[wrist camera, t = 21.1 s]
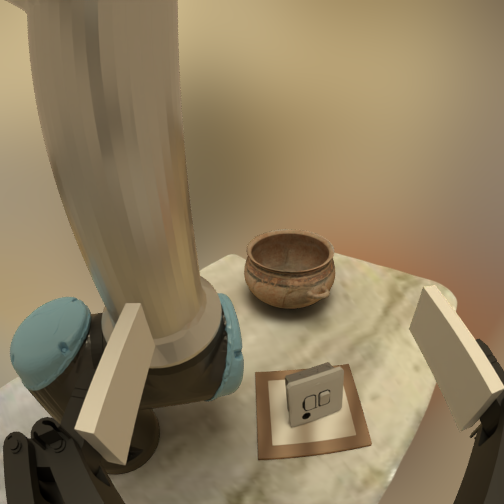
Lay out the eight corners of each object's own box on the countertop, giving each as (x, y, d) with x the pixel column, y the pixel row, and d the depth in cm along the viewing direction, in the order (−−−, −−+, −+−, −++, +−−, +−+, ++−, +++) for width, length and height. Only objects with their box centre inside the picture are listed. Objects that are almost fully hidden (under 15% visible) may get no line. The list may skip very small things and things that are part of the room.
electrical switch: (290, 429, 37) (292, 395, 34) (279, 406, 41) (279, 371, 38) (341, 410, 39) (350, 375, 36) (328, 390, 43) (334, 354, 40)
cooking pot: (228, 279, 73) (224, 233, 67) (296, 260, 79) (297, 217, 73) (277, 348, 53) (278, 295, 47) (357, 314, 59) (367, 264, 53)
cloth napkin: (258, 460, 34) (258, 458, 33) (255, 374, 48) (255, 371, 47) (370, 445, 34) (372, 443, 33) (348, 366, 48) (348, 363, 47)
